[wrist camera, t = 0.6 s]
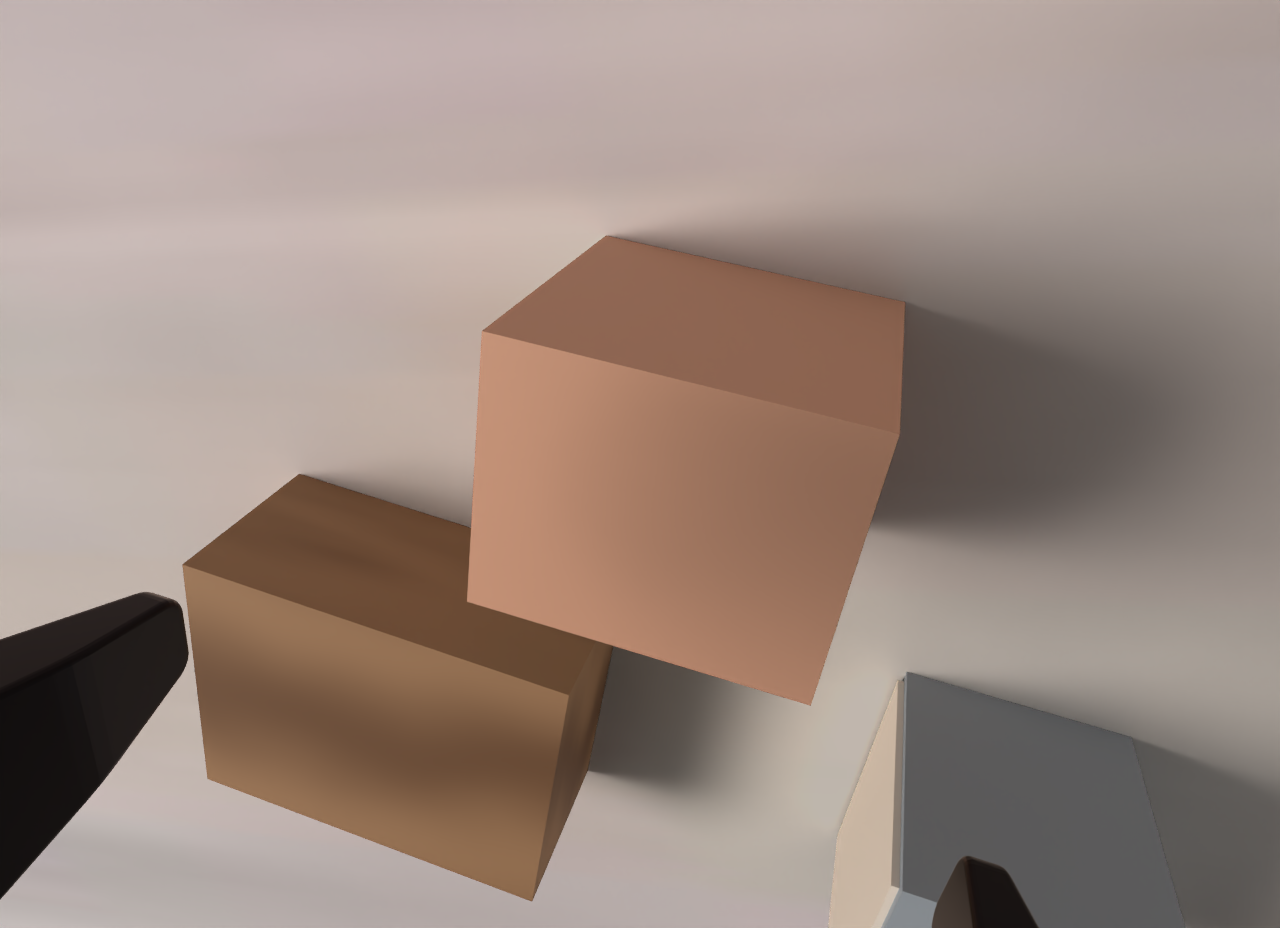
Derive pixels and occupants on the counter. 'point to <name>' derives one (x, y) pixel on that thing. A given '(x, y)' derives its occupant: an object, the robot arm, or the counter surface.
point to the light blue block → (999, 816)
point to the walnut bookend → (388, 685)
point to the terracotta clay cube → (684, 459)
